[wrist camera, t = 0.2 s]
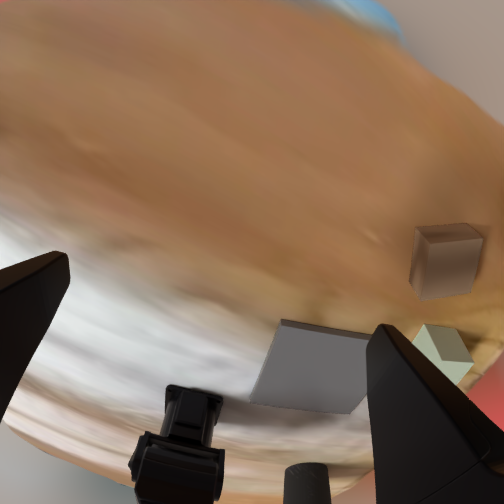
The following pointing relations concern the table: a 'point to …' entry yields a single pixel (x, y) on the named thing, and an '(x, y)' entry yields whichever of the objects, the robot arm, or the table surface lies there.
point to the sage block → (444, 350)
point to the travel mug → (307, 484)
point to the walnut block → (444, 260)
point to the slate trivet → (313, 369)
